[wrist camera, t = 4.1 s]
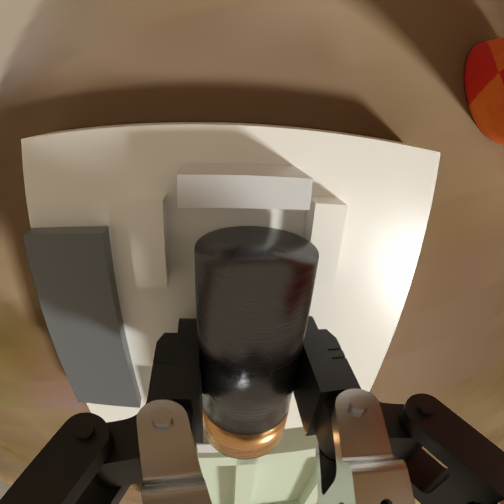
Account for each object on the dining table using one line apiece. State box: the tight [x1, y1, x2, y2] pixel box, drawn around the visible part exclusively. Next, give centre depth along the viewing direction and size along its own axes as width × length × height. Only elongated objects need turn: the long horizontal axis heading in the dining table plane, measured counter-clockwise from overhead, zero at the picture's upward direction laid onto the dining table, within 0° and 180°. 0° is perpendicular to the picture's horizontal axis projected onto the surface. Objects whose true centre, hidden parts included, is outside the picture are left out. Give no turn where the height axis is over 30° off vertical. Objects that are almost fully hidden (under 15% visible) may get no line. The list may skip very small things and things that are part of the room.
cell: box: [194, 226, 319, 459], centre depth 10 cm, size 3×9×3 cm, turn 177°
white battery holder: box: [21, 122, 440, 453], centre depth 12 cm, size 14×14×4 cm
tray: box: [196, 427, 318, 504], centre depth 20 cm, size 14×15×3 cm
